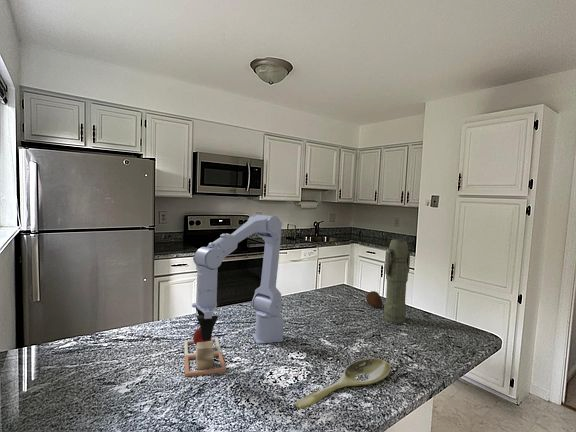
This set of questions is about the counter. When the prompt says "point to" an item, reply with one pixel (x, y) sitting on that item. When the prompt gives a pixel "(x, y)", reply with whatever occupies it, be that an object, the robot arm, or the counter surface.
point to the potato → (374, 299)
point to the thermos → (396, 280)
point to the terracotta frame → (202, 372)
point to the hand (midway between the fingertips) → (205, 334)
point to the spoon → (351, 379)
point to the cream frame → (193, 342)
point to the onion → (198, 336)
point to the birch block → (204, 355)
